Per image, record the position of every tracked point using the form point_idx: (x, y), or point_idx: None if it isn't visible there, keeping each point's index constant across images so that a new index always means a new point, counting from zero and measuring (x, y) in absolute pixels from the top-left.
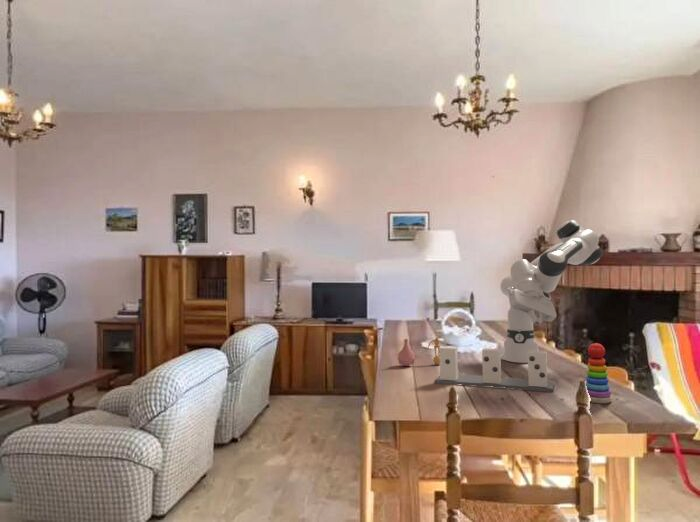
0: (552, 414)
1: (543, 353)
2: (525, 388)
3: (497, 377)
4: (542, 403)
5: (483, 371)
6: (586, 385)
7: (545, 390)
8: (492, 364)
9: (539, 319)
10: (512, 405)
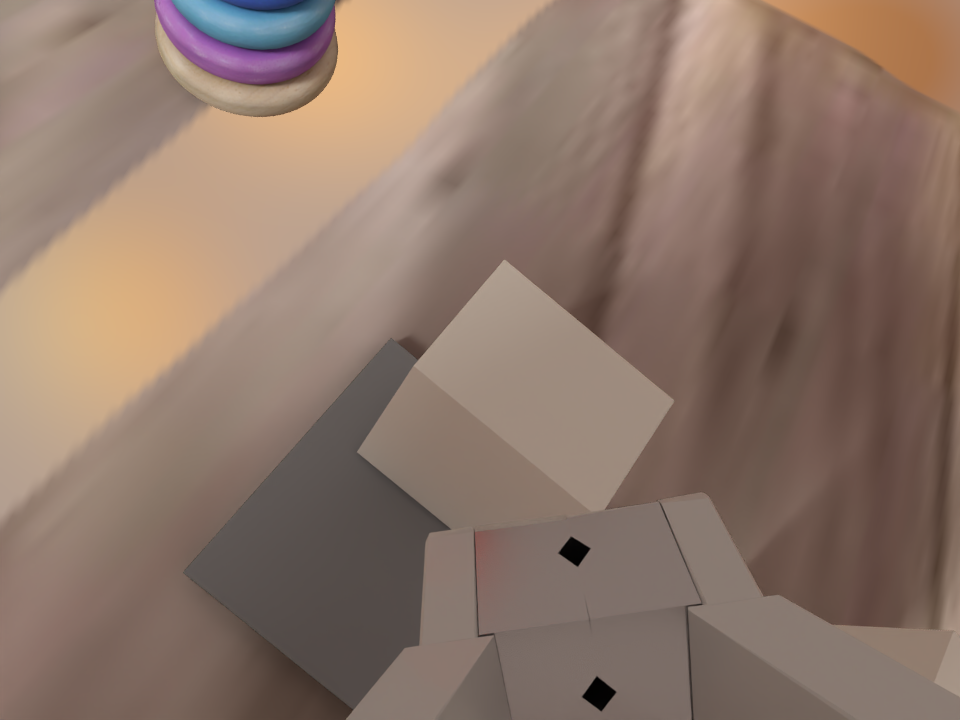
0: (662, 5)
1: (523, 281)
2: None
3: None
4: (610, 162)
5: None
6: (333, 4)
7: None
8: None
9: (518, 577)
10: (779, 203)
